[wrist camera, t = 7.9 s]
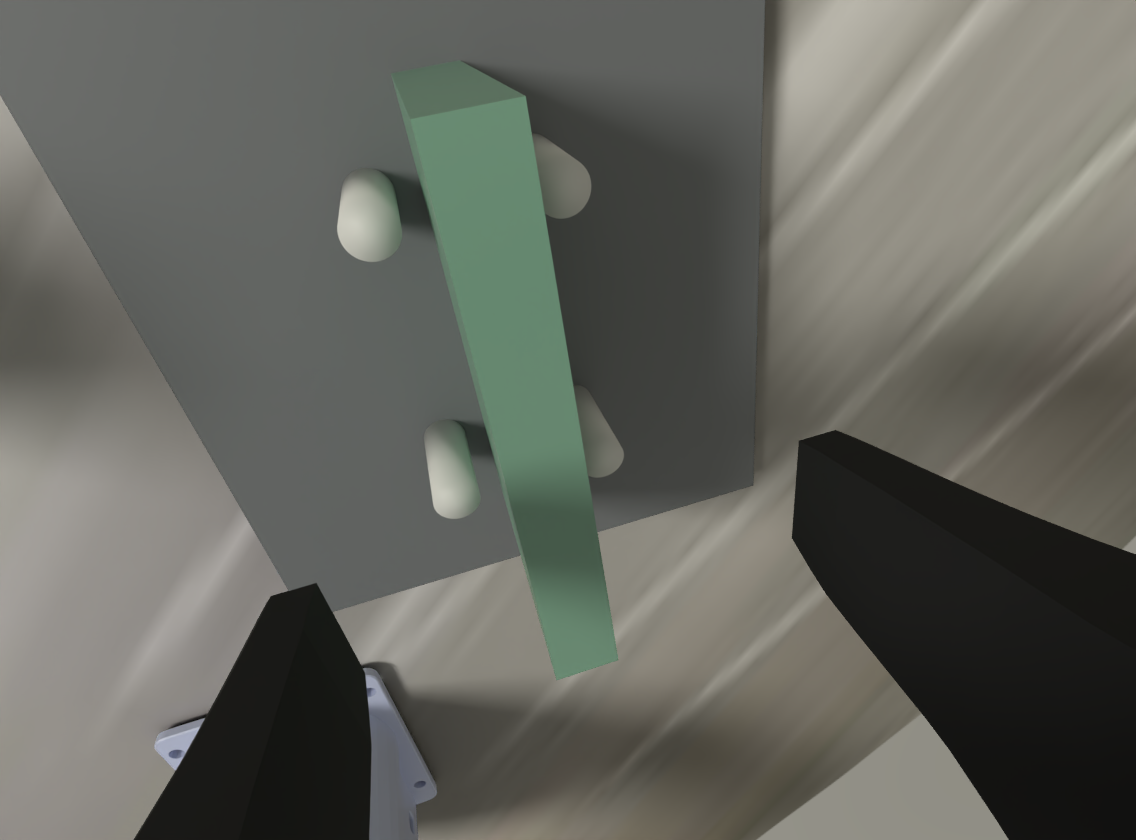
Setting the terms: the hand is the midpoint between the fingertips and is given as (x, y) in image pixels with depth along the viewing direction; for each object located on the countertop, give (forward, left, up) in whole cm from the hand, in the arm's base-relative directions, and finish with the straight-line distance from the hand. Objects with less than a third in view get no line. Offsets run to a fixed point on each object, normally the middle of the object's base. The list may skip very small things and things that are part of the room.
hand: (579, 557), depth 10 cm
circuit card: (0, 0, -9) cm, 9 cm away
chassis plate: (0, 0, -10) cm, 10 cm away
